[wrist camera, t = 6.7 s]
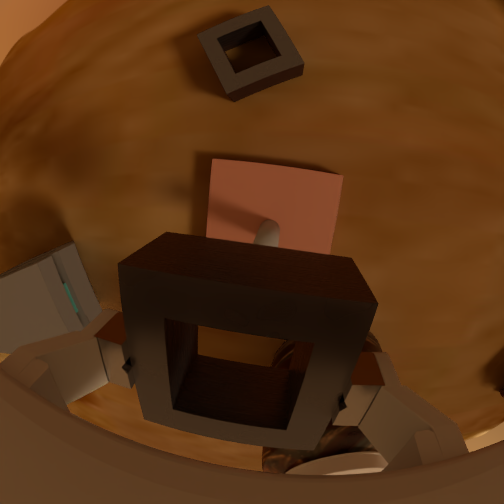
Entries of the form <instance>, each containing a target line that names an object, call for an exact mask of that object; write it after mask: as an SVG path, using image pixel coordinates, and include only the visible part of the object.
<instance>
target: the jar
mask: <svg viewBox="0 0 504 504" xmlns="http://www.w3.org/2000/svg"><path fill="white" fill-rule="evenodd" d="M295 343H296V341H294V340H287V341H286V342H285V343H284V344H283V345H282V346H281V347H280V348H279V350H278V351H277V353H276V355H275V357H274V360H273V363H272V368H280V369H288V370H289V367H290V363H291V359H292V355H293V351H294V347H295ZM361 352H370V353H371V352H382V349H381V347H380V345H379V343H378V341H377V339H376V338H375V336H374V335H373V334H372V333H371V332H370V331H369V332H368V335H367V338H366V340H365V343H364V346H363V348H362V351H361ZM387 465H388V463H387V462H386V460H385V459H384V458H383V457H382V456H381V454H380V453H379V452H378V451H377V449H376V448H375V447H374V446H373V445H372V443H371V442H370V441H369V440H368V439H367V437H366V436H365V435H364V434H363V432H362V431H361V430H360V429H359V428H358V426H341V425H333V424H332V418H331V420H330V422H329V424H328V426H327V427H326V429H325V431H324V433H323V435H322V437H321V439H320V440H319V442H318V444H317V446H316V448H315V449H314V450H296V449H283V448H273V447H265V446H263V451H262V468H263V472H270V473H282V474H299V475H345V474H361V473H373V472H381V471H382V470H383V469H384V468H385V467H386V466H387Z"/></svg>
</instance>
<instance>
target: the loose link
mask: <svg viewBox="0 0 504 504" xmlns="http://www.w3.org/2000/svg"><path fill="white" fill-rule="evenodd" d="M262 36H265V38H266V39H267V41H268V43H269V44H270V46H271V48H272V50H273V51H274V53H275V55H276V58H274V59H271V60H268V61H266V62H263V63H260V64H258V65H255V66H253V67H250V68H248V69H246V70H243V71H241V72H239V73H236V72H235V70H234V68H233V66H232V64H231V62H230V60H229V58H228V56H227V54H226V52H225V51H227V50H230V49H232V48H234V47H236V46H239V45H241V44H244V43H246V42H249V41H251V40H254V39H256V38H259V37H262ZM197 37H198V39H199V40H200V42H201V44H202V46H203V48H204V50H205V52H206V54H207V56H208V58H209V60H210V62H211V64H212V66H213V68H214V70H215V72H216V74H217V76H218V78H219V80H220V82H221V84H222V86H223V88H224V90H225V92H226V94H227V95H228V96H229V97H230V98H231V99H232V100H233V101H234V102H236V101H238V100H240V99H242V98H245V97H247V96H249V95H252V94H254V93H256V92H259V91H261V90H264V89H266V88H269V87H271V86H274V85H276V84H279V83H282V82H284V81H287V80H290V79H293V78H295V77H298V76H301V75H302V74H303V68H304V62H303V60H302V58H301V56H300V55H299V53H298V51H297V49H296V48H295V46H294V44H293V43H292V41H291V39H290V38H289V36H288V34H287V33H286V31H285V29H284V28H283V26H282V25H281V23H280V21H279V20H278V18H277V17H276V15H275V14H274V12H273V11H272V9H271V8H270V6H269V5H268V6H265V7H262V8H259V9H256V10H253V11H251V12H248V13H245V14H243V15H240V16H238V17H235V18H233V19H230V20H228V21H225V22H223V23H221V24H218V25H216V26H214V27H212V28H210V29H207V30H205V31H203V32H201V33H199V34H197Z"/></svg>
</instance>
